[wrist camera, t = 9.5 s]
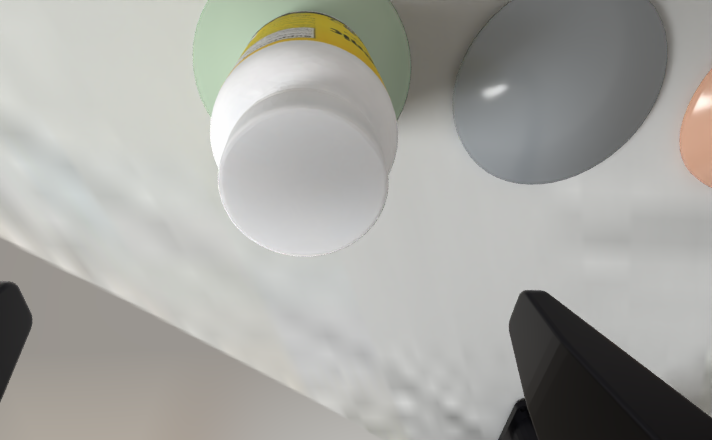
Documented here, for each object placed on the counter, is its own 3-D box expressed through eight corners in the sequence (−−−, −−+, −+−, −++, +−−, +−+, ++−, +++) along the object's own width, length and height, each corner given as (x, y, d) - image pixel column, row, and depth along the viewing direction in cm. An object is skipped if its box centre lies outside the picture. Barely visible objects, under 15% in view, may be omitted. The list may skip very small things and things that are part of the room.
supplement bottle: (389, 115, 20) (440, 245, 11) (276, 155, 20) (248, 305, 12) (348, -15, 17) (379, 33, 9) (218, 36, 17) (130, 127, 9)
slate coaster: (607, 179, 23) (615, 187, 22) (435, 173, 22) (439, 181, 21) (694, -18, 18) (709, -15, 17) (475, -34, 17) (481, -32, 16)
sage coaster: (394, 167, 22) (396, 175, 22) (209, 159, 21) (205, 167, 21) (423, -40, 17) (427, -38, 16) (182, -61, 16) (176, -60, 16)
